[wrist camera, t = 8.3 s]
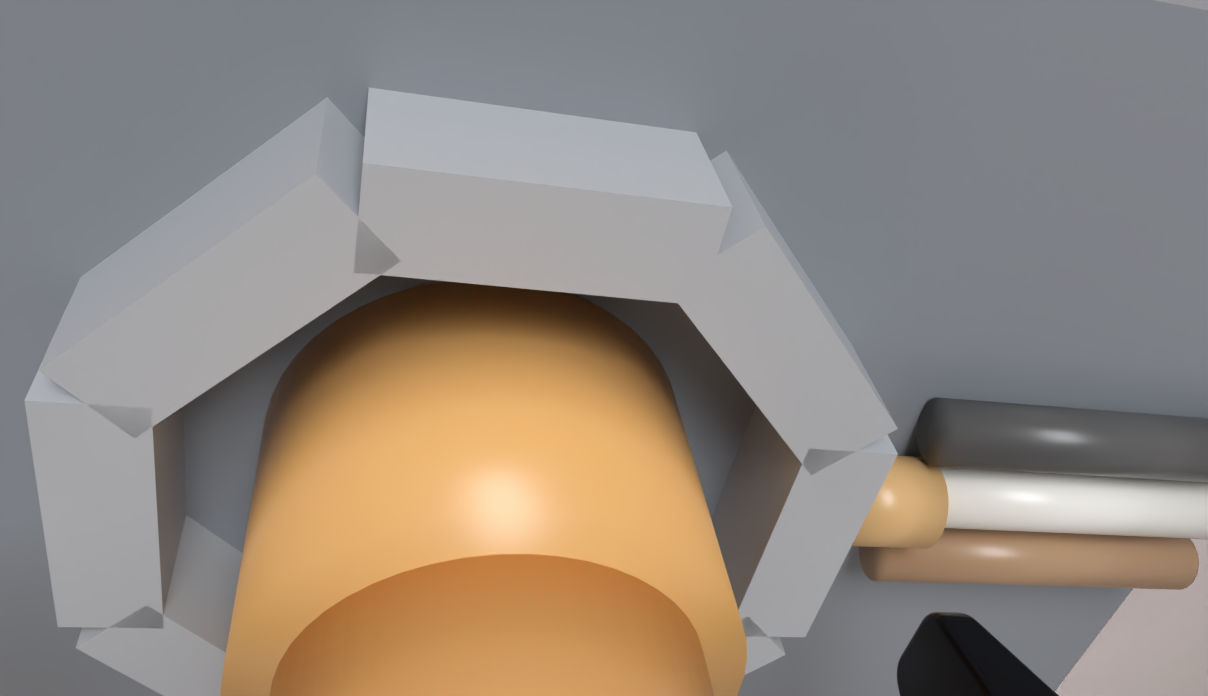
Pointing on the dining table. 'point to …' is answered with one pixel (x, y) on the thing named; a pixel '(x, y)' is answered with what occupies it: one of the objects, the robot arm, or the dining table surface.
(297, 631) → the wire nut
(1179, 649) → the dining table surface
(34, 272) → the junction socket
